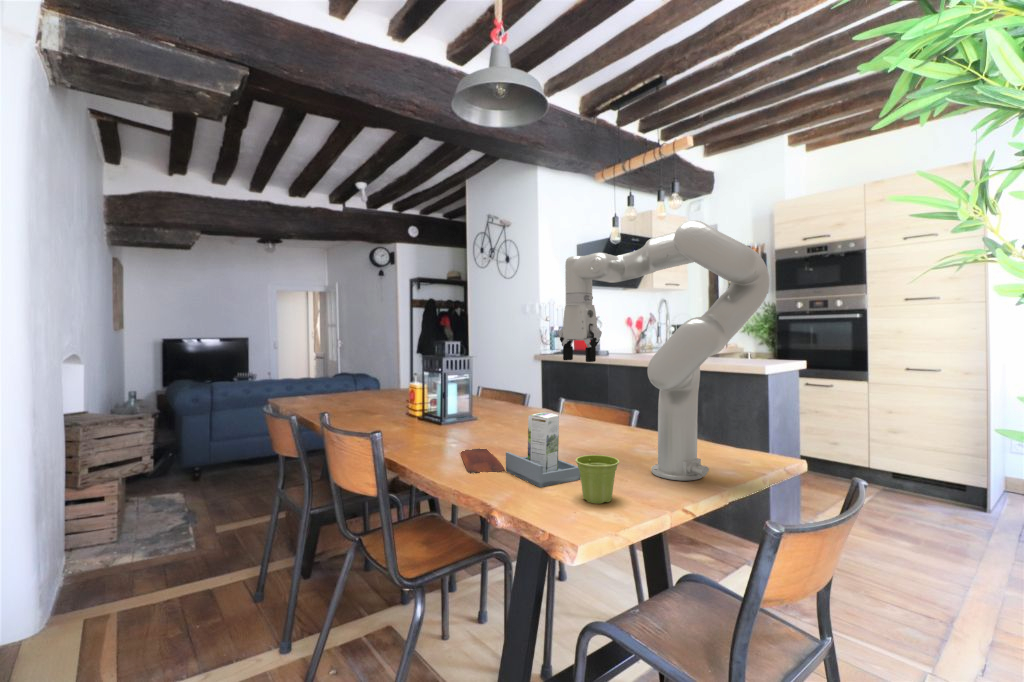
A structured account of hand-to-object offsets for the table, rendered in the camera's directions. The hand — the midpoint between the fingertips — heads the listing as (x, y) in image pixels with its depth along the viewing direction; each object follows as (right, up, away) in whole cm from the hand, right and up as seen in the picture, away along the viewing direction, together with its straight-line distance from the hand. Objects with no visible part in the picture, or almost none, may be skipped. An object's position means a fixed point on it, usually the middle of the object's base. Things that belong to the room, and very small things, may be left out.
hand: (579, 360), depth 144 cm
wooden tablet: (-28, -29, 0) cm, 40 cm away
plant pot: (-1, -29, -34) cm, 44 cm away
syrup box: (-11, -28, -16) cm, 34 cm away
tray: (-11, -28, -16) cm, 34 cm away
